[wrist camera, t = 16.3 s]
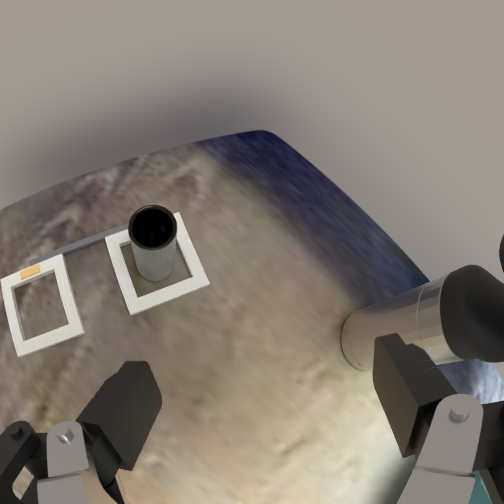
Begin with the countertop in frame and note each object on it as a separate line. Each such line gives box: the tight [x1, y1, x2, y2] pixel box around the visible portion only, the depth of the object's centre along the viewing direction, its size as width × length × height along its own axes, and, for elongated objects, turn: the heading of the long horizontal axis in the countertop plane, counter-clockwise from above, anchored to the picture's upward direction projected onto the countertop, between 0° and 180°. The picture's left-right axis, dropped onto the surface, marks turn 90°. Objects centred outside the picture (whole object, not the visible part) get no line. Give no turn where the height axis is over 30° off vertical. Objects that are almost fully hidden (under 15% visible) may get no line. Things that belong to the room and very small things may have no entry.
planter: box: [128, 205, 177, 282], centre depth 29 cm, size 4×4×10 cm
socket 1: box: [1, 254, 86, 357], centre depth 27 cm, size 10×10×1 cm
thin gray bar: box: [29, 223, 128, 266], centre depth 31 cm, size 16×1×1 cm, turn 117°
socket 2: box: [105, 212, 210, 316], centre depth 33 cm, size 10×10×1 cm
